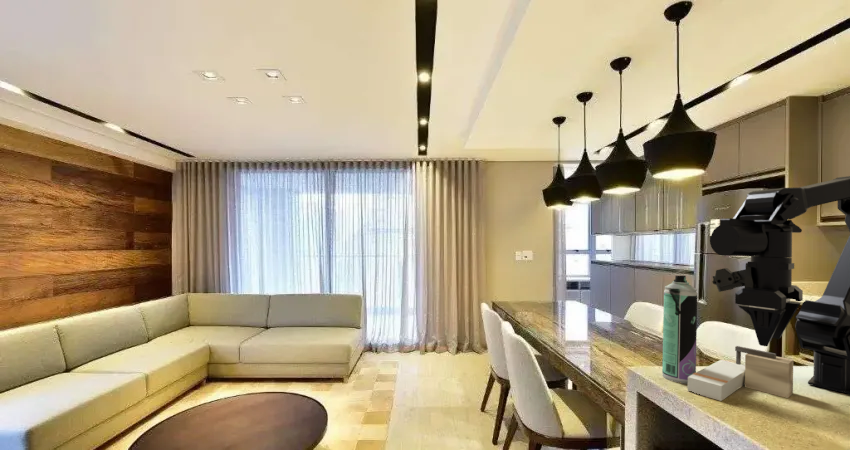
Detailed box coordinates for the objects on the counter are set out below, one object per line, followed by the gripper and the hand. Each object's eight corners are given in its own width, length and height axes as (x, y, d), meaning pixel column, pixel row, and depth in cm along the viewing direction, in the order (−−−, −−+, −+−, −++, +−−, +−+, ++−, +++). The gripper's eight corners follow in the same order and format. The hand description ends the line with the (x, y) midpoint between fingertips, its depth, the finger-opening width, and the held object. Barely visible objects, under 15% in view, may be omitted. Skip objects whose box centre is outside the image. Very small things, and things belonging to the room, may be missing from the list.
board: (720, 371, 82) (720, 358, 82) (751, 379, 78) (751, 365, 78) (687, 391, 71) (687, 376, 71) (721, 401, 67) (721, 385, 67)
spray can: (697, 385, 73) (699, 277, 74) (662, 379, 76) (664, 275, 76) (694, 377, 78) (696, 275, 78) (661, 371, 81) (664, 273, 81)
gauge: (738, 379, 78) (739, 344, 78) (792, 393, 71) (793, 355, 72) (732, 383, 75) (732, 347, 75) (787, 398, 69) (788, 359, 69)
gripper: (732, 253, 85) (731, 326, 85) (701, 254, 74) (700, 339, 73) (803, 257, 76) (802, 338, 76) (781, 259, 65) (780, 354, 65)
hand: (769, 341), depth 73 cm, fingers open, 9 cm apart
